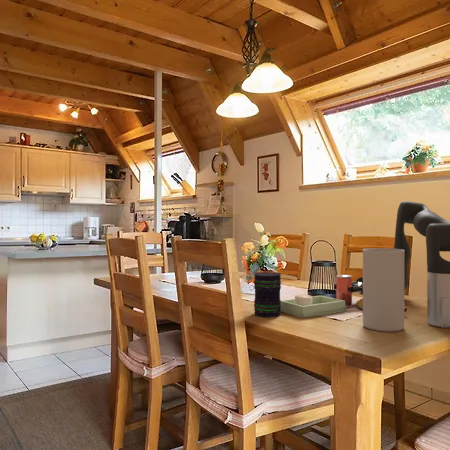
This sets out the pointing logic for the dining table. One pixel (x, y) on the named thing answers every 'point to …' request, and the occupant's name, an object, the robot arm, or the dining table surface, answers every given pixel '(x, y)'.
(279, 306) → the storage jar
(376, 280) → the cylinder vase
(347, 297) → the tin
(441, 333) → the dining table surface
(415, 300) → the dining table surface
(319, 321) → the dining table surface
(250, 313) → the dining table surface
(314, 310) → the green tray
